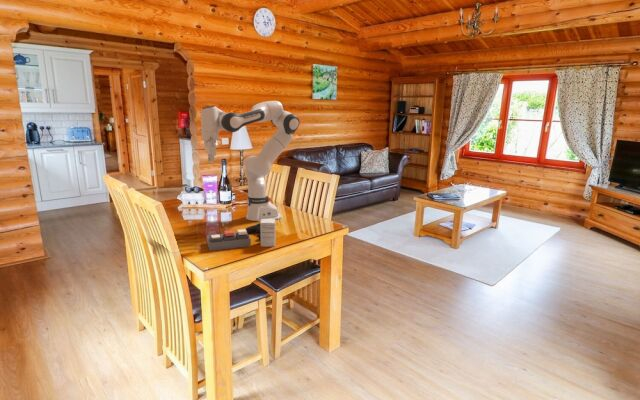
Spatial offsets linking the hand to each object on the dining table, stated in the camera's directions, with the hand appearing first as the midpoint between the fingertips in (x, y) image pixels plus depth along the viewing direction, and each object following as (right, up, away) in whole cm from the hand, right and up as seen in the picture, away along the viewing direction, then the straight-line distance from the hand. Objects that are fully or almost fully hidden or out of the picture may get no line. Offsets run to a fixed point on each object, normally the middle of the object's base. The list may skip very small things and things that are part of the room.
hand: (211, 162), depth 203 cm
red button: (+14, -38, -18) cm, 45 cm away
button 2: (+20, -38, -16) cm, 46 cm away
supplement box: (+33, -44, -13) cm, 56 cm away
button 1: (+8, -40, -21) cm, 46 cm away
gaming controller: (+27, -41, 0) cm, 49 cm away
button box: (+13, -43, -15) cm, 48 cm away
